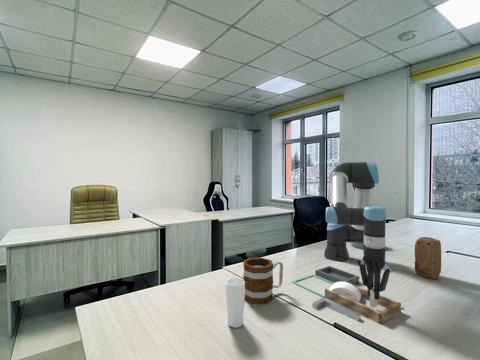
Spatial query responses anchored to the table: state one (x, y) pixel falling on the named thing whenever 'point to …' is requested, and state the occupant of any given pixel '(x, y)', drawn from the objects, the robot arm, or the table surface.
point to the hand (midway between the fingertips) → (373, 306)
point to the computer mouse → (346, 290)
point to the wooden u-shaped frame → (380, 317)
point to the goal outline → (308, 288)
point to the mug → (260, 280)
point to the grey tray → (336, 275)
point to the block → (428, 257)
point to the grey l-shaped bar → (336, 308)
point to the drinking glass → (235, 301)
